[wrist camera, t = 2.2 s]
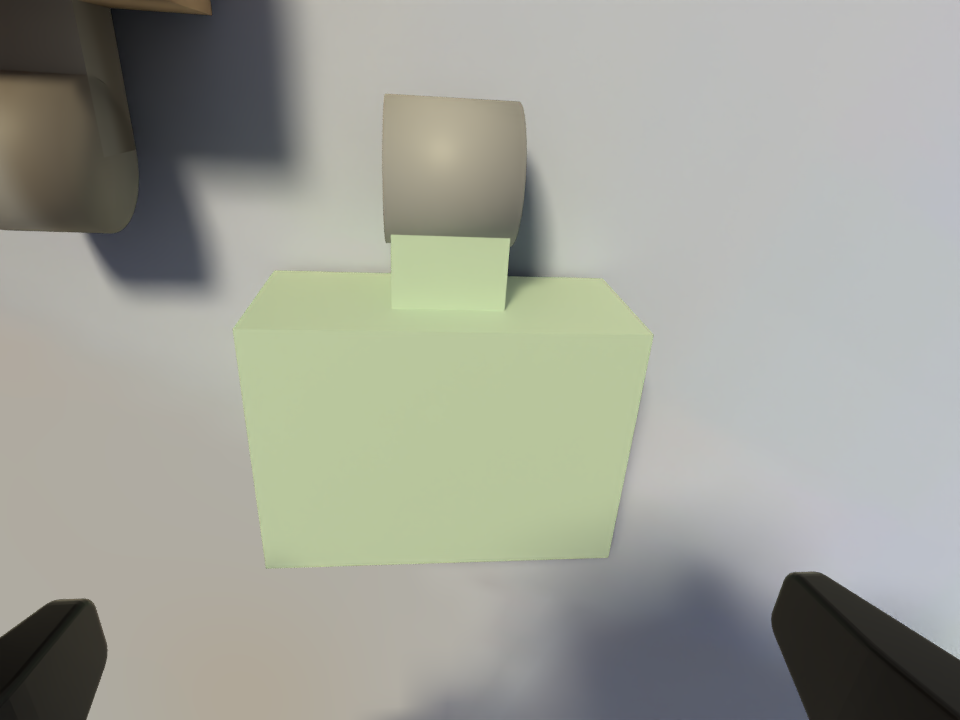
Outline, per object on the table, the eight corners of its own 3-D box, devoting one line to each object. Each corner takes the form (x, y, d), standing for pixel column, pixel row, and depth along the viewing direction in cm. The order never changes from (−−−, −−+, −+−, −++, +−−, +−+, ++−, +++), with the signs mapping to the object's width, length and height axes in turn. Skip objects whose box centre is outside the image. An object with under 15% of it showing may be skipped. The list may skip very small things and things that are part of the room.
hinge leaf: (629, 105, 11) (697, 116, 8) (573, 469, 15) (607, 557, 12) (255, 83, 10) (199, 87, 8) (294, 472, 14) (265, 568, 11)
